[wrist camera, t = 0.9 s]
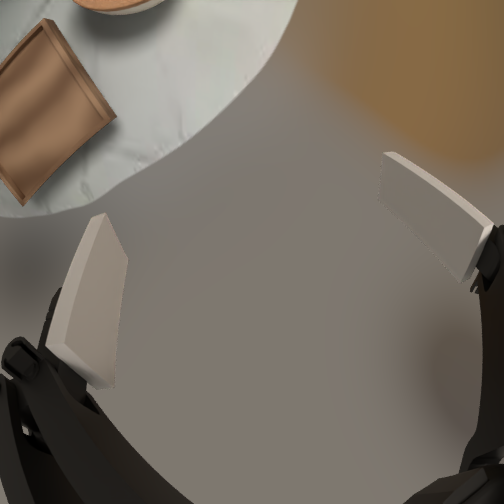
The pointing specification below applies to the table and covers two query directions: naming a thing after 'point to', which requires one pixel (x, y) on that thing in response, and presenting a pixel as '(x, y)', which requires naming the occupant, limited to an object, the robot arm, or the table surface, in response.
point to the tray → (44, 109)
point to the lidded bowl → (118, 6)
